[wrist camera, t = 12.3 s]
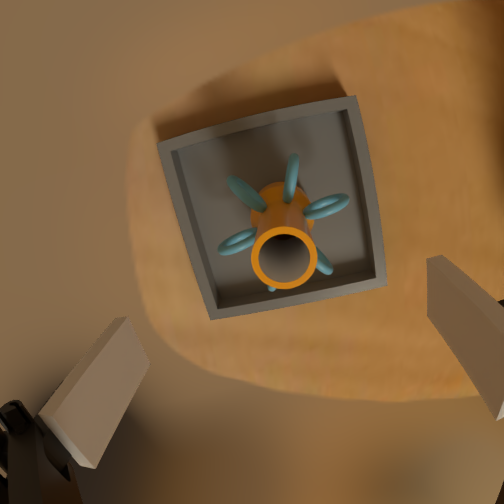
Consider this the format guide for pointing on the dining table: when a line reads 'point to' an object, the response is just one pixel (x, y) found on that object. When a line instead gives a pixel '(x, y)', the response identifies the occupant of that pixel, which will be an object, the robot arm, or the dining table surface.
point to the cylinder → (282, 229)
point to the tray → (262, 174)
